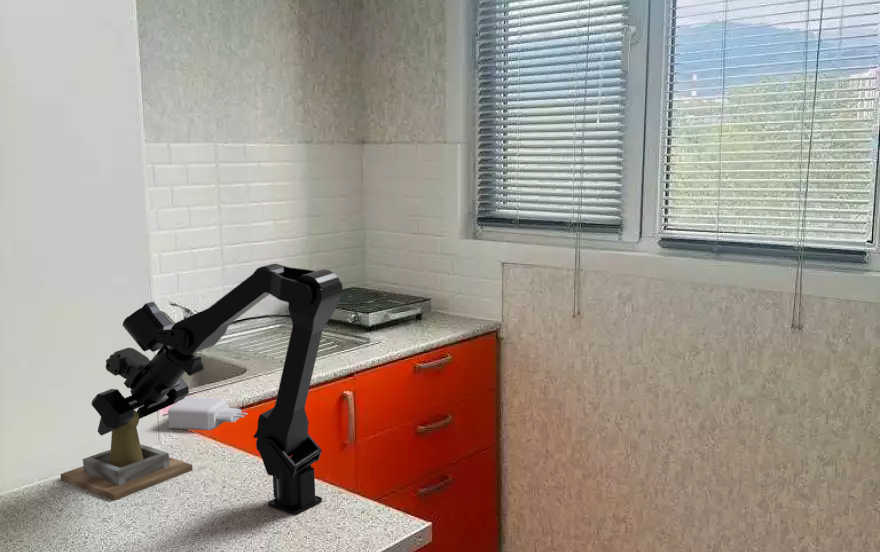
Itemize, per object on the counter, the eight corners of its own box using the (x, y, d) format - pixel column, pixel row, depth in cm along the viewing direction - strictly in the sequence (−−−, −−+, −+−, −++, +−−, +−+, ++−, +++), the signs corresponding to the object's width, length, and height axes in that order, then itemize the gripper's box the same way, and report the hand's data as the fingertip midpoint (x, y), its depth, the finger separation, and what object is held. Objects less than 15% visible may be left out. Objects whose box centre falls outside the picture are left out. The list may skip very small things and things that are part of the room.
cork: (144, 461, 160) (140, 403, 159) (145, 473, 155) (141, 413, 153) (109, 465, 158) (105, 407, 157) (108, 478, 153) (104, 417, 151)
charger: (237, 434, 178) (168, 430, 181) (254, 419, 187) (189, 416, 190) (235, 411, 177) (167, 408, 180) (253, 398, 186) (188, 395, 189)
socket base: (192, 469, 159) (191, 451, 158) (114, 500, 146) (113, 480, 145) (138, 452, 168) (137, 434, 167) (60, 479, 155) (59, 460, 154)
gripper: (171, 324, 159) (128, 377, 165) (95, 348, 142) (50, 406, 148) (209, 370, 158) (164, 422, 164) (137, 399, 141) (90, 456, 147)
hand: (118, 425), depth 156 cm, fingers open, 9 cm apart
